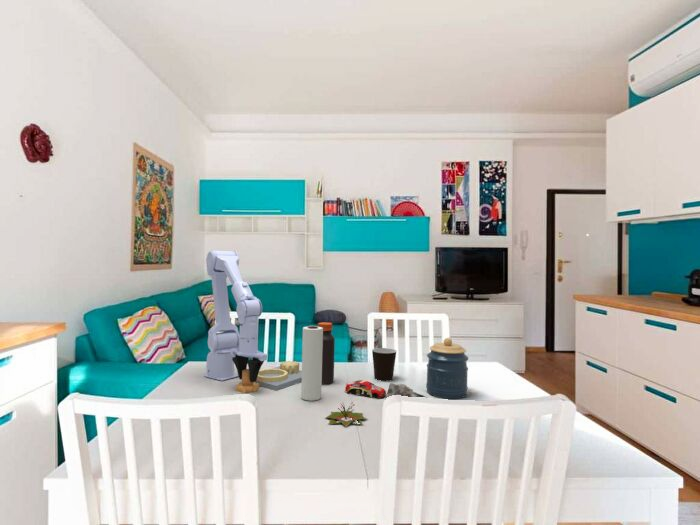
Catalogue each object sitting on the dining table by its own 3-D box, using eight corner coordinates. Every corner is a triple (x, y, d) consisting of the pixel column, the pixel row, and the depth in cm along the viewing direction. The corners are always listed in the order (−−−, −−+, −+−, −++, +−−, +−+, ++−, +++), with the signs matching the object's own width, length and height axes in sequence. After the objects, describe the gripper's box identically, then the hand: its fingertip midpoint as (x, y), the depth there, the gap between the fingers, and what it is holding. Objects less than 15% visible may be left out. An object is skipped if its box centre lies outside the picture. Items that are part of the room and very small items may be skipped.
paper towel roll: (316, 402, 124) (317, 329, 124) (297, 399, 126) (299, 327, 126) (325, 395, 131) (327, 326, 131) (308, 392, 133) (309, 324, 133)
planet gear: (231, 389, 134) (232, 370, 134) (247, 384, 140) (248, 366, 140) (247, 394, 130) (247, 374, 130) (263, 388, 136) (263, 370, 136)
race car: (388, 396, 133) (389, 383, 133) (382, 401, 128) (382, 387, 128) (350, 389, 139) (351, 376, 139) (343, 393, 134) (343, 381, 134)
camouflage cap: (425, 412, 126) (423, 419, 116) (388, 400, 128) (383, 406, 119) (430, 390, 126) (429, 395, 117) (394, 378, 129) (389, 382, 119)
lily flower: (325, 412, 118) (325, 395, 118) (368, 413, 118) (369, 396, 118) (321, 429, 106) (321, 410, 106) (369, 430, 106) (369, 412, 106)
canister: (440, 384, 146) (442, 333, 145) (475, 393, 136) (476, 338, 136) (417, 392, 136) (419, 337, 136) (453, 402, 127) (454, 343, 127)
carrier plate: (241, 381, 143) (241, 368, 143) (279, 370, 159) (280, 358, 159) (276, 390, 134) (276, 376, 134) (313, 377, 150) (313, 364, 150)
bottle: (321, 386, 140) (323, 325, 140) (309, 381, 145) (311, 322, 145) (337, 382, 145) (339, 323, 145) (325, 378, 150) (326, 321, 150)
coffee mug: (388, 383, 145) (389, 354, 145) (366, 379, 150) (367, 350, 149) (403, 376, 155) (404, 348, 155) (382, 372, 159) (383, 345, 159)
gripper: (223, 336, 136) (222, 378, 136) (255, 342, 128) (254, 387, 128) (240, 333, 141) (239, 374, 142) (272, 338, 133) (271, 382, 133)
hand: (247, 380), depth 135 cm, fingers open, 4 cm apart
